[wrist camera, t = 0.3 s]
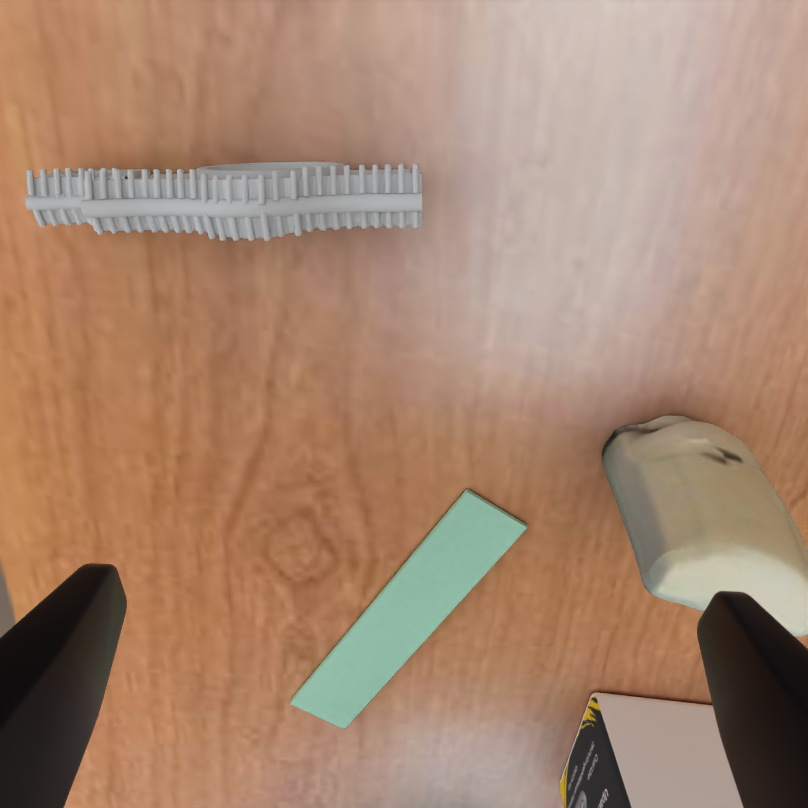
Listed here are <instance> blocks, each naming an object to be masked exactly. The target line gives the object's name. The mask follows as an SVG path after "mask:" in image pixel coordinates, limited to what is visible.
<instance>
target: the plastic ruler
mask: <svg viewBox="0 0 808 808" xmlns="http://www.w3.org/2000/svg"><path fill="white" fill-rule="evenodd" d="M526 529H527V525H526V524H525V523H524V522H522V521H520V520H519V519H517V518H515V517H514V516H512V515H510V514H509V513H507V512H505V511H504V510H502V509H500V508H499V507H497V506H495V505H494V504H492V503H490V502H488V501H487V500H485V499H483V498H482V497H480V496H478V495H477V494H475V493H473V492H472V491H470V490H468V489H466V490H465V491H464V493H463V494H462V495H461V496H460V497H459V499H458V500H457V501H456V502H455V503H454V505H453V506H452V507H451V508H450V509H449V511H448V512H447V513H446V514H445V515H444V517H443V518H442V519H441V520H440V521H439V523H438V524H437V525H436V526H435V527H434V529H433V530H432V531H431V532H430V533H429V535H428V536H427V537H426V538H425V539H424V541H423V542H422V543H421V544H420V545H419V547H418V548H417V549H416V550H415V551H414V553H413V554H412V555H411V556H410V557H409V559H408V560H407V561H406V562H405V563H404V565H403V566H402V567H401V568H400V569H399V571H398V572H397V573H396V574H395V575H394V577H393V578H392V579H391V580H390V581H389V583H388V584H387V585H386V586H385V587H384V589H383V590H382V591H381V592H380V593H379V595H378V596H377V597H376V598H375V599H374V601H373V602H372V603H371V604H370V605H369V607H368V608H367V609H366V610H365V611H364V613H363V614H362V615H361V616H360V617H359V619H358V620H357V621H356V622H355V623H354V625H353V626H352V627H351V628H350V629H349V631H348V632H347V633H346V634H345V635H344V637H343V638H342V639H341V640H340V641H339V643H338V644H337V645H336V646H335V647H334V649H333V650H332V651H331V652H330V653H329V655H328V656H327V657H326V658H325V659H324V661H323V662H322V663H321V664H320V665H319V667H318V668H317V669H316V670H315V671H314V673H313V674H312V675H311V676H310V677H309V679H308V680H307V681H306V682H305V683H304V685H303V686H302V687H301V688H300V689H299V691H298V692H297V693H296V694H295V695H294V697H293V698H292V699H291V702H290V704H291V705H293V706H295V707H298V708H300V709H302V710H304V711H306V712H308V713H310V714H312V715H315V716H317V717H319V718H321V719H323V720H325V721H327V722H329V723H331V724H334V725H336V726H338V727H340V728H342V729H345V728H346V727H347V726H348V725H349V724H350V723H351V722H352V720H353V719H354V718H355V717H356V716H357V715H358V714H359V713H360V712H361V711H362V709H363V708H364V707H365V706H366V705H367V704H368V703H369V702H370V701H371V700H372V698H373V697H374V696H375V695H376V694H377V693H378V692H379V691H380V690H381V689H382V687H383V686H384V685H385V684H386V683H387V682H388V681H389V680H390V679H391V678H392V676H393V675H394V674H395V673H396V672H397V671H398V670H399V669H400V668H401V667H402V665H403V664H404V663H405V662H406V661H407V660H408V659H409V658H410V657H411V656H412V654H413V653H414V652H415V651H416V650H417V649H418V648H419V647H420V646H421V644H422V643H423V642H424V641H425V640H426V639H427V638H428V637H429V636H430V635H431V633H432V632H433V631H434V630H435V629H436V628H437V627H438V626H439V625H440V624H441V622H442V621H443V620H444V619H445V618H446V617H447V616H448V615H449V614H450V613H451V611H452V610H453V609H454V608H455V607H456V606H457V605H458V604H459V603H460V602H461V600H462V599H463V598H464V597H465V596H466V595H467V594H468V593H469V592H470V591H471V589H472V588H473V587H474V586H475V585H476V584H477V583H478V582H479V581H480V580H481V578H482V577H483V576H484V575H485V574H486V573H487V572H488V571H489V570H490V568H491V567H492V566H493V565H494V564H495V563H496V562H497V561H498V560H499V559H500V557H501V556H502V555H503V554H504V553H505V552H506V551H507V550H508V549H509V548H510V546H511V545H512V544H513V543H514V542H515V541H516V540H517V539H518V538H519V537H520V535H521V534H522V533H523V532H524V531H525V530H526Z"/></svg>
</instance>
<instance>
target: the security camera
mask: <svg viewBox="0 0 808 808" xmlns="http://www.w3.org/2000/svg"><path fill="white" fill-rule="evenodd" d="M560 791H561V796H562V800H563V805H564V808H743V805H742V802H741V799H740V796H739V793H738V790H737V787H736V784H735V781H734V778H733V775H732V772H731V769H730V766H729V763H728V760H727V757H726V754H725V751H724V747H723V744H722V741H721V738H720V734H719V730H718V726H717V722H716V718H715V713H714V709H713V705H704V704H695V703H686V702H677V701H668V700H659V699H651V698H642V697H633V696H624V695H615V694H606V693H597V692H596V693H593V694H592V695H591V697H590V699H589V702H588V705H587V708H586V710H585V713H584V716H583V719H582V722H581V724H580V727H579V730H578V733H577V736H576V738H575V741H574V744H573V747H572V750H571V752H570V755H569V758H568V761H567V764H566V766H565V769H564V772H563V775H562V778H561V780H560Z"/></svg>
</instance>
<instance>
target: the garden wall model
mask: <svg viewBox="0 0 808 808" xmlns="http://www.w3.org/2000/svg"><path fill="white" fill-rule="evenodd" d="M53 171H54V173H51V174H47V173H46V170H45V169H40V178H34V176H33V170H27V186H28V197H26V198H25V204H26V207H27V209H28V210H29V211H33V213H34V215H35V218H36V220H37V222H38V224H39V225H40V226H41V227H43V226H46V224H53V226H57V225H59V224H60V223H65V225H66V226H69V225H71V223H77V225H82V224H83V223H89V224H90V225H93V228H94V231H95V232H97V233H98V234H103V233H104V231H111V232H112V233H113V234H115V233H118V231H125V232H126V233H131V232H132V230H138V232H140V233H142V232H144V231H145V230H152V232H158V231H159V230H163V232H164V233H167V232H170V230H175V232H176V233H181V232H182V230H186V233H192V232H193V231H198V234H204V233H205V232H208V236H209V239H215V238H216V236H215V234H218V235H219V238H220V240H222V241H223V240H227V238H226V237H232V238H233V241H238V240H240V238H248V240H249V241H254V240H255V238H264V240H265V241H269V240H271V237H275V236H278V237H283V236H284V235H285V234H288V233H293V232H295V236H301V235H302V233H301V230H306V231H307V232H312V231H313V229H318V228H320V230H321V231H325V230H326V228H329V227H333V229H334V230H339V229H340V227H343V226H344V227H347V229H353V226H361V228H368V226H369V225H371V226H374V228H380V227H381V226H380V225H385V226H386V228H392V227H393V226H394V225H397V226H399V228H405V227H406V226H408V225H410V226H413V228H419V226H420V225H422V173H419V165H418V164H413V165H412V173H411V169H404V165H403V164H399V165H398V169H391V165H389V164H387V165H385V169H378V165H372V169H371V170H365V165H359V170H350V166H349V165H345V166H344V164H343V163H338V162H263V163H241V164H226V165H214V166H205V167H199V168H196V170H194V169H190V170H189V171H190V173H184V170H182V169H178V170H177V174H173V170H171V169H166V174H160V170H158V169H154V170H153V173H154V174H151V172H150V169H125V170H118V168H112V170H107V168H101V170H95V169H93V168H88V170H84V169H83V168H78V171H72V169H69V168H66V169H65V172H60V170H59V169H53Z"/></svg>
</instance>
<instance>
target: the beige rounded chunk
mask: <svg viewBox="0 0 808 808" xmlns="http://www.w3.org/2000/svg"><path fill="white" fill-rule="evenodd" d="M602 457H603V458H602V459H603V465H604V468H605V471H606V474H607V479H608V482H609V484H610V486H611V488H612V491H613V494H614V496H615V499H616V502H617V504H618V507H619V510H620V513H621V515H622V518H623V521H624V524H625V527H626V529H627V532H628V535H629V538H630V541H631V544H632V547H633V550H634V553H635V557H636V561H637V564H638V566H639V569H640V574H641V578H642V582H643V584H644V587H645V588H646V589H647V591H648V592H649V593H650V594H652V595H654V596H656V597H658V598H660V599H663V600H668V601H672V602H675V603H679V604H682V605H685V606H688V607H691V608H694V609H697V610H701V611H703V612H704V611H705V609H706V608H707V606H708V604H709V603H710V601H711V599H712V597H713V596H714V595H715V594H716V593H717V592H719V591H736V592H744V593H746V594H748V595H750V596H751V597H752V598H753V599H754V600H755V601H757V602H758V603H759V604H760V605H761V606H762V607H763V608H764V609H765V610H766V611H767V612H768V613H769V614H771V615H772V616H773V617H774V618H775V619H776V620H777V621H778V622H779V623H780V624H781V625H782V626H784V627H785V628H786V629H787V630H788V631H789V632H790V633H791V634H792V635H793V636H794V637H800V636H804V635H808V549H807V547H806V544H805V542H804V540H803V537H802V535H801V533H800V531H799V529H798V527H797V525H796V523H795V521H794V520H793V518H792V516H791V514H790V512H789V510H788V508H787V507H786V505H785V503H784V502H783V500H782V499H781V497H780V496H779V494H778V493H777V491H776V490H775V488H774V487H773V485H772V484H771V482H770V481H769V480H768V478H767V477H766V475H765V474H764V472H763V470H762V468H761V466H760V464H759V462H758V461H757V459H756V458H755V457H754V455H753V454H752V452H751V451H750V450H749V448H748V447H747V446H746V445H745V444H744V443H743V442H742V441H741V440H740V439H739V438H737V437H736V436H734V435H733V434H731V433H729V432H727V431H725V430H723V429H722V428H720V427H718V426H716V425H714V424H710V423H707V422H699V421H694V420H691V419H689V418H686V417H684V416H667V415H665V416H662V417H659V418H657V419H655V420H652V421H650V422H647V423H645V424H640V425H639V424H635V425H628V426H624V427H621V428H619V429H617V430H615V431H614V433H613V435H612V436H611V437H610V439H609V440H608V441H607V443H606V444H605V446H604V448H603V451H602Z"/></svg>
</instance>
